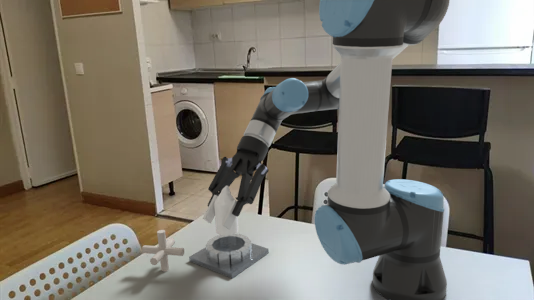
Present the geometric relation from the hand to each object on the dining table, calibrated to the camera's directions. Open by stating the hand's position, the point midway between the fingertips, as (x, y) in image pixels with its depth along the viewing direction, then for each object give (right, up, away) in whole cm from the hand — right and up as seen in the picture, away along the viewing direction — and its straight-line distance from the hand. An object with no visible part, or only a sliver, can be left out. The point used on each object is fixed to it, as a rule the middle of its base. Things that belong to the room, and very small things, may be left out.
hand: (216, 223), depth 104 cm
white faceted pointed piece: (+2, -3, +4) cm, 5 cm away
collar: (+3, -9, +5) cm, 11 cm away
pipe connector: (-12, -11, +1) cm, 17 cm away
